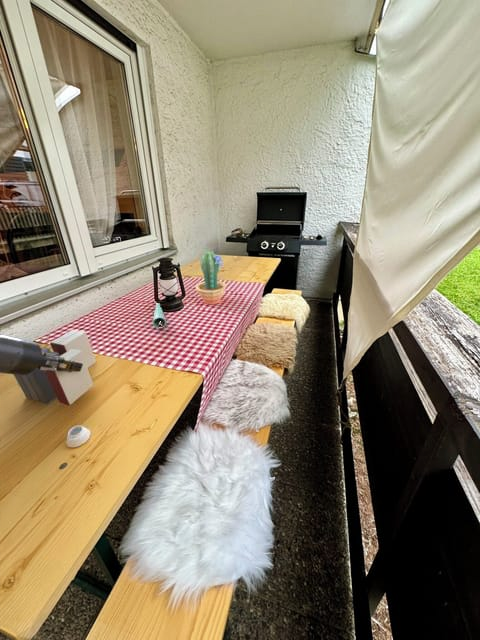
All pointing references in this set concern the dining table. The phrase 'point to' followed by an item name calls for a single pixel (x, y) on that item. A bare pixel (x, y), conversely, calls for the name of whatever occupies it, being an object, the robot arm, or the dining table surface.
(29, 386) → the grey books
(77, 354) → the ivory book
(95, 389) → the dining table surface
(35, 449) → the dining table surface
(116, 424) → the dining table surface
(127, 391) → the dining table surface
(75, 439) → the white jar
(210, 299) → the potted cactus
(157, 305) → the long green cone
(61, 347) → the ivory books
